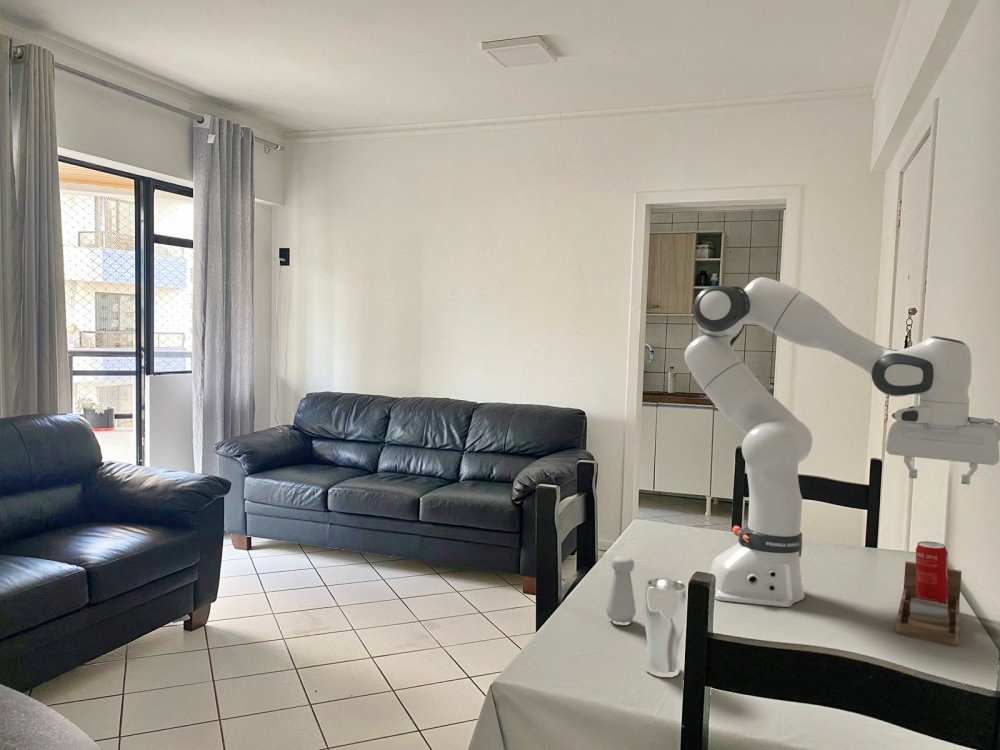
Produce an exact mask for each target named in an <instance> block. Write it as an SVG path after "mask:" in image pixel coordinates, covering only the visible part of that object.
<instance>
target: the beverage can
mask: <svg viewBox="0 0 1000 750" xmlns="http://www.w3.org/2000/svg"><path fill="white" fill-rule="evenodd" d="M948 557H949V555H948V550H947V548H946V545H945V544H944V543H942V542H941V543H940V542H936V541H926V540H925V541H918V542H917V546H916V547H915V563H916V599H921V600H926V601H931V602H936V603H941V604H946V605H948V569H949V567H948V566H949V565H948Z"/></svg>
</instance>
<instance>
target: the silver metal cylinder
mask: <svg viewBox="0 0 1000 750" xmlns="http://www.w3.org/2000/svg"><path fill="white" fill-rule="evenodd" d="M907 624H910V625H914V626H919V627H924V628H928V629H933V630H938V631H942V632H947V633H950V625H949V613H948V605H946V604H941V603H936V602H931V601H926V600H921V599H916V598H911V603H910V613H909V616H908V618H907Z"/></svg>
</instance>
